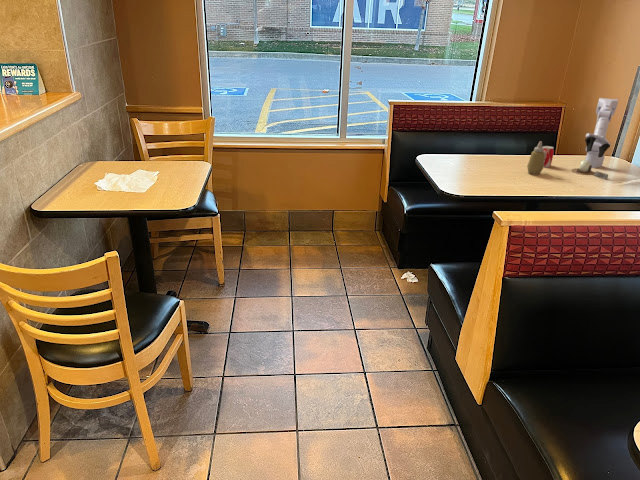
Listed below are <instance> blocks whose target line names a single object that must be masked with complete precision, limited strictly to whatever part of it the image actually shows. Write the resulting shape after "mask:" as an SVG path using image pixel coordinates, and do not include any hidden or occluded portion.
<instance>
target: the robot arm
mask: <svg viewBox="0 0 640 480" xmlns="http://www.w3.org/2000/svg"><path fill="white" fill-rule="evenodd" d="M618 103H619V99H618V98H615V99H614V98H605V97H604V98H603V97H599V99H598V103H597V106H596V110H595V112H596V113H595V114H596V115H597V117H596V123H595V128H594V131H593V133H591V132H588V133H586V134H585V139H584V142H585V144H586V146H585V152H586V156H585V159H584V160H587V161H590V162H591V164H590V165H591V166H592V168H591V169H596V168H601V167H603V164H604V160H605V152H606V151H607V150H609V148H610V147H611V144H612V143H611V142H609V141H608V139H607V138H606V135H607V131H608V127H609V126H610V125H609V124H610V122H611V120H612V116H614V114H615V113H616V110H617V107H618Z"/></svg>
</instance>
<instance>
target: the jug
mask: <svg viewBox="0 0 640 480" xmlns="http://www.w3.org/2000/svg"><path fill="white" fill-rule="evenodd" d="M590 164H591V162H590V161H587V160H585V159H582V160H581V161H580V165H579V168H578V169H579V171H582V172H588V169H589V166H590Z"/></svg>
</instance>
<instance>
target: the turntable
mask: <svg viewBox="0 0 640 480" xmlns="http://www.w3.org/2000/svg"><path fill="white" fill-rule="evenodd" d="M592 169H593V168H592V166H591V165H590V166H589V169H588V172H582V171H579V168H572V169H571V170H570V172H572V173H574V174H576V175H581V176H594V177H597V178H599V179H601V180H602V179H603V180H608V178H609V174H608V173H603V172H601V171H597V170H596V171H593V170H592Z"/></svg>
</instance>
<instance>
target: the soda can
mask: <svg viewBox="0 0 640 480" xmlns="http://www.w3.org/2000/svg"><path fill="white" fill-rule="evenodd" d="M542 148H544V151H543V152H544V153H545V156H544V165H543V168H551V166H552V162H553V158H554V153H555V150H554V146H549V145H542Z"/></svg>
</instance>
